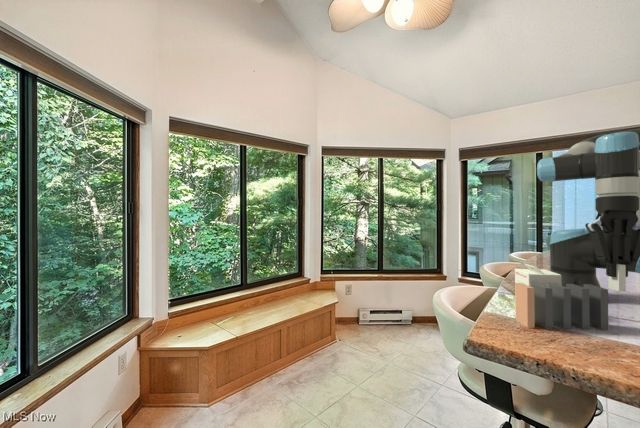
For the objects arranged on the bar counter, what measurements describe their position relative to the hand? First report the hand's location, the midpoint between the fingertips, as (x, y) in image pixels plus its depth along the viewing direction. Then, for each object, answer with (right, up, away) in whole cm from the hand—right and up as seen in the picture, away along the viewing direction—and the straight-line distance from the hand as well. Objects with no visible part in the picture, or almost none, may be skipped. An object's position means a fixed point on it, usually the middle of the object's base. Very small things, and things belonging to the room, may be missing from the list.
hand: (617, 289), depth 69 cm
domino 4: (-9, -9, +1) cm, 13 cm away
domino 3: (-13, -9, +2) cm, 16 cm away
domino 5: (-5, -9, +1) cm, 10 cm away
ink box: (-10, -10, +12) cm, 19 cm away
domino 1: (-21, -10, +2) cm, 23 cm away
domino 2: (-17, -10, +2) cm, 20 cm away
